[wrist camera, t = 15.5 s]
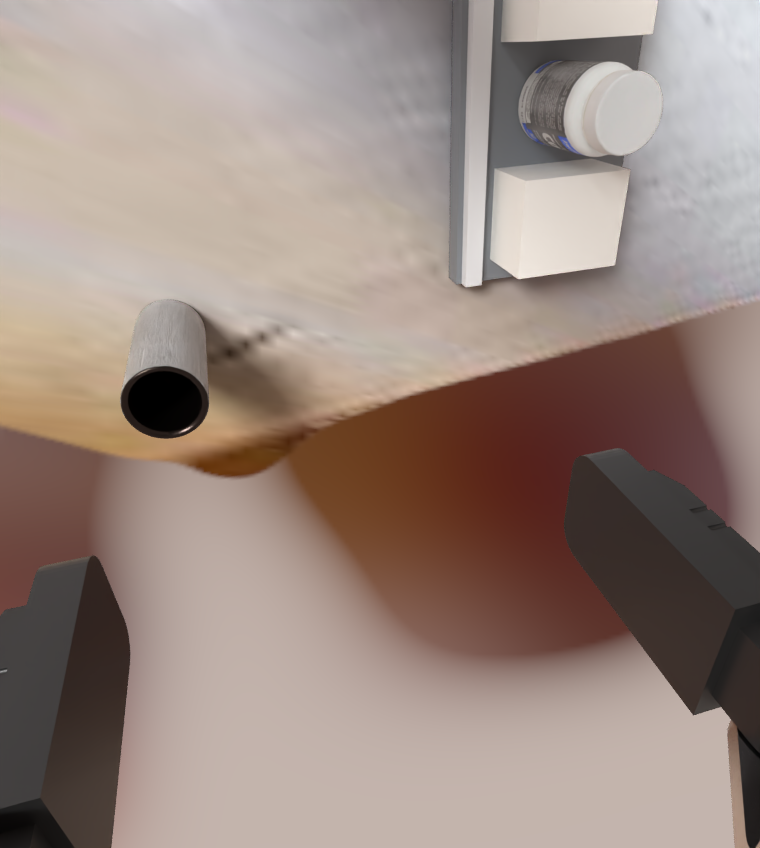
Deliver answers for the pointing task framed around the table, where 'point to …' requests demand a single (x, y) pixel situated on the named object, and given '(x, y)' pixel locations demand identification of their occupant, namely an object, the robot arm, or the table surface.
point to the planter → (166, 371)
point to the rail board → (520, 155)
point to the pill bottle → (590, 107)
